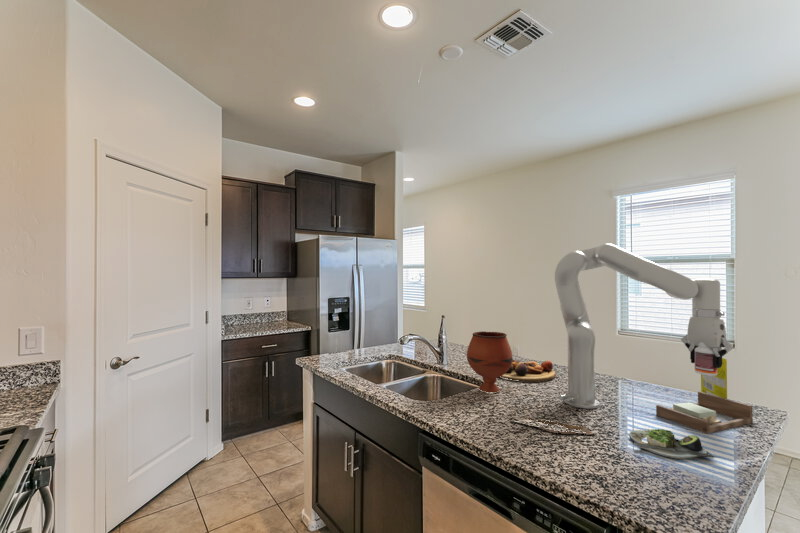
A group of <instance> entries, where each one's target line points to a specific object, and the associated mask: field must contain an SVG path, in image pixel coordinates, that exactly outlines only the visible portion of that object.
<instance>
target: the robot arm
mask: <svg viewBox="0 0 800 533" xmlns="http://www.w3.org/2000/svg"><path fill="white" fill-rule="evenodd" d="M602 267H607V268H609V269H612V270H613V271H615V272H617V273H620V274H621V275H624V276H626V277H628V278H629V279H631V280H634V281H637V282H638V283H639V282H640V283H644V284H647V285H650V286H653V287H655V288H657V289H660V290H661V291H664V292H665V293H666V294H667V295H668V296H669V297H671V298H673V299H677V300H678V299H680V300H692V301H691V302H692V303H691V305H692V306H691V309H692V310H691V313H692V314H691V316H690V317H689V320H688V326H687V334H686V335H685V336H683V337H682V338H681V339H680V341H681V342H682V343H683V344H684V346H685V347H686V348H687V349H688V351H689V354H690V356H689V357H690V358H689V359H690V363H691V364H695V348H697V347H698V345H699V343H700V342H701V343H704V344H705V346H707V347H711V348H712V349H713V351H714V353H715V356H714V357H713V367H714V368H721V366H722V358H723V357H724V356H725V355H726V354H728V353H729V352H731V351H732V350H734V346H733V345H732V344H731V343H730V342H729V340H728V338H727V330H726V325H725V321H724V318H722V317H725V311H724V312H722V311H721V282H720V281H719V280H718V279H715V278H695V279H693V278H692V279H691V278H690V277H688V276H686V275H684V274H681V273H679V272H677V271H674V270H673V269H669V268H667V267H665V266H662V265H660V264H658V263H655V262H654V261H651V260H649V259H646V258H644V257H643V256H639V255H637V254H635V253H633V252H630V251H629V250H626V249H625V248H622V247H620V246H617V245H615V244H613V243H607V242H606V243H603V244H601V245H598V246H595V247H591V248H587V249H584V250H573V251H570V252H568V253H567V254H565V255H564V256H563V257H561V259H560V260H559V261H558V263H557V265H556V267H555V270H554V282H555V287H556V291H557V295H558V299H559V304H560V305H559V306H560V308H559V309H560V311H561V314H562V318H563V322H564V325H565V329H566V332H567V387H568V388H567V390H566V391H565V394H559V395H558V398H559V399H558V400H560V401H563V402H564V403H566V404H567V405H569V406H572V407H575V408H579V409H586V410H587V409H590V410H592V409H593V410H594V409H598V408H600V404H601V402H600V401H599V400H597V399H596V360H595V359H596V358H595V357H596V334H595V331H594V329H593V328H592V326H591V325H592V324H591V320H590V318H589V315H588V311H587V304H586V302H585V300H584V297H583V293H582V289H581V286H580V281H579V274H580V272H583V271H588V270H589V271H590V270H593V269H597V268H602ZM722 348H723V349H722Z"/></svg>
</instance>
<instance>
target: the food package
mask: <svg viewBox="0 0 800 533" xmlns="http://www.w3.org/2000/svg"><path fill="white" fill-rule="evenodd" d="M727 362H728V361H727V359H726V358H723V357H722V366H721V368H717V369H718V373H717V375H716V376H709V375H702V374H700V392H703V393H707V394H711V395H714V396H718V397H722V398H725V399H728V373H727V372H728V366H727V365H728V363H727Z"/></svg>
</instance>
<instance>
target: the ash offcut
mask: <svg viewBox="0 0 800 533" xmlns="http://www.w3.org/2000/svg"><path fill="white" fill-rule="evenodd" d="M671 408H672V409H673V407H671ZM673 410H676V409H673ZM676 411H679V410H676ZM679 412H681V411H679ZM682 413H684V412H682ZM685 414H687V413H685ZM688 415H689V414H688ZM691 416H692V415H691ZM694 417H695V416H694ZM697 418H698V417H697ZM700 419H703V420H706V421H709V422H710V421H712V420H714V419H717V415H716V416H712V417H704V418H700Z"/></svg>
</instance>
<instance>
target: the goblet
mask: <svg viewBox="0 0 800 533" xmlns="http://www.w3.org/2000/svg"><path fill="white" fill-rule="evenodd" d="M466 351H467V352H466V359H467V362H468V365H469V366H470V368H471V370H472V371H473V372H475V374H477V375H478V376H480V377H482V381H483V383H482V384H481V385H480V386H478V390H479V389H480V390H482V391H486V392H497V391H500V389H499V387H498V386H497V384H496V382H497V378H498V377H500V376H502V375H504V374H505V373H506V372H507V371H508V370H509V368H510V367H511V365H512V360H514V359H513V357H514V356H513V352H512V349H511V346H510V343H509V341H508V338H507V334H506V333H504V332H498V331H475V332H473V333H472V337H471V340H470V342H469V344H468V347H467V350H466ZM498 379H499V378H498Z"/></svg>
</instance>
